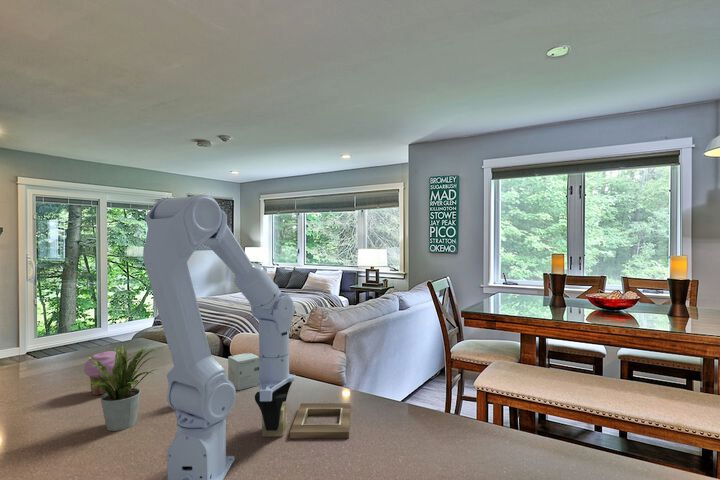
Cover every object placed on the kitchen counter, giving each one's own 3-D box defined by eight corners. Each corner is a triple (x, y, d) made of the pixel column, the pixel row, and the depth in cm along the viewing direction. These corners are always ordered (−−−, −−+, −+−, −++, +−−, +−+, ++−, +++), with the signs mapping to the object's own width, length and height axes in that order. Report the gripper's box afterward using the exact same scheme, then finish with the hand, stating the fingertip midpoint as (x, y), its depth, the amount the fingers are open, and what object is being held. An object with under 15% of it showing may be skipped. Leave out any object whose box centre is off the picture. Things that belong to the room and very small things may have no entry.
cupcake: (79, 400, 93) (78, 358, 93) (91, 387, 102) (90, 348, 102) (122, 395, 96) (121, 354, 96) (130, 383, 104) (130, 345, 104)
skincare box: (237, 391, 98) (237, 361, 98) (227, 384, 103) (227, 356, 103) (260, 385, 102) (259, 356, 102) (249, 379, 107) (249, 351, 107)
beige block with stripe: (283, 436, 76) (282, 409, 76) (262, 436, 76) (261, 409, 76) (287, 426, 80) (286, 400, 80) (267, 426, 80) (266, 400, 80)
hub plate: (348, 438, 74) (348, 431, 74) (290, 438, 75) (290, 431, 75) (350, 408, 87) (350, 402, 87) (300, 408, 88) (300, 403, 88)
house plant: (180, 419, 83) (179, 341, 83) (111, 449, 71) (110, 358, 71) (140, 405, 90) (140, 333, 90) (71, 431, 78) (70, 348, 78)
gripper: (287, 365, 70) (288, 442, 70) (300, 343, 85) (301, 407, 85) (247, 365, 70) (248, 442, 70) (267, 344, 85) (268, 408, 85)
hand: (274, 423), depth 78 cm, fingers open, 4 cm apart
